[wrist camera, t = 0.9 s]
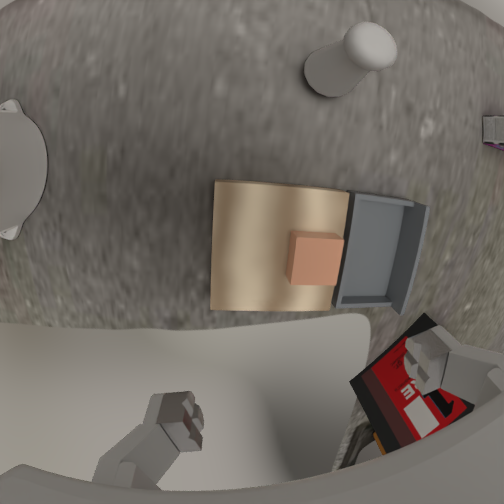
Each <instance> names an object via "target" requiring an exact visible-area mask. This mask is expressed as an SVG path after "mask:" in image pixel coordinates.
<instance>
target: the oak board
mask: <svg viewBox="0 0 504 504" xmlns="http://www.w3.org/2000/svg"><path fill="white" fill-rule="evenodd" d="M349 194H350V193H348V192H345V191H342V190H339V189H331V188H323V187H313V186H303V185H293V184H282V183H269V182H256V181H240V180H221V179H216V180H215V191H214V210H213V232H212V260H211V301H210V310H234V311H329V310H330V305H331V300H332V295H333V291H334V286H335V285H290V283H289V281H288V279H287V277H286V268H287V260H288V252H289V243H290V235H291V231H308V232H324V233H336V234H337V235H338V236H340V237H341V238H342V239H343V235H344V229H345V222H346V216H347V209H348V201H349Z"/></svg>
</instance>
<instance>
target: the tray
mask: <svg viewBox="0 0 504 504" xmlns="http://www.w3.org/2000/svg"><path fill="white" fill-rule="evenodd" d="M347 192H348V193H350V194H349V201H348V209H347V216H346V222H345V229H344V235H343V239H344V245H343V251H342V257H341V262H340V268H339V273H338V278H337V283H336V285H335V286H334V291H333V295H332V300H331V303H332V304H333V306H334V307H335V308H363V307H385V306H391V307H392V308H393V309H394V310H395V311H396V312H397V313H398V314H399V315H404V312H405V309H406V306H407V303H408V300H409V296H410V293H411V289H412V286H413V282H414V279H415V275H416V271H417V267H418V263H419V259H420V255H421V250H422V246H423V241H424V237H425V232H426V227H427V222H428V216H429V210H430V207H429V206H426V205H423V204H420V203H417V202H414V201H411V200H408V199H403V198H397V197H391V196H384V195H377V194H370V193H363V192H356V191H348V190H347Z"/></svg>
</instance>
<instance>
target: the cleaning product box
mask: <svg viewBox="0 0 504 504" xmlns="http://www.w3.org/2000/svg"><path fill="white" fill-rule="evenodd" d="M435 326H438V325H437V324H436V323H435V322H434V321H433V320H432V319H431V318H429V317H428V316H427V315H426V314H425V313H423V314H422V315H421V316H420V317H419V318H418V319H417V320H416V321H415V322H414V323H413V325H412V326H411V327H410V328H409V329H408V330H407V331H405V332H404V333H403V334H402V335H401V336H400V337H399V338H398V339H397V340H396V341H395V342H394V343H393V344H392V345H391V346H390V347H389V348H388V349H387V350H385V351H384V352H383V353H382V354H381V355H380V356H379V357H378V358H377V359H375V360H374V361H373V362H372V363H371V364H370V365H369V366H367V367H366V368H365V369H364V370H363V371H361V372H360V373H359V374H358V375H357V376H355V377H354V378H353V379H352V380H351V381H349V382H350V384H351V386H352V388H353V390H354V392H355V394H356V395H357V397H358V399H359V401H360V403H361V405H362V407H363V409H364V411H365V413H366V415H367V417H368V419H369V421H370V423H371V425H372V427H373V429H374V430H375V432H376V434H377V436H378V438H379V440H380V442H381V444H382V446H383V448H384V450H385V452H386V454H388V453H390V452H393V451H395V450H398V449H400V448H403V447H405V446H407V445H410V444H412V443H414V442H416V441H418V440H421V439H423V438H425V437H427V436H429V435H431V434H433V433H435V432H437V431H439V430H441V429H443V428H445V427H447V426H448V425H450V424H452V423H454V422H456V421H457V420H459V419H461V418H463V417H464V416H466V415H468V414H469V413H471V412H473V409H474V407H475V404H472V403H470V402H468V401H466V400H464V399H462V398H460V397H458V396H455V395H453V394H451V393H449V392H447V391H445V390H443V389H441V387H440V388H438V389H436V390H434V391H432V392H429V393H427V394H425V395H422V394H421V392H420V391H419V390H418V388H417V387H416V385H415V382H416V379H413V378H410V377H409V375H408V374H407V372H406V369H405V365H404V356H405V354H406V353H407V351H408V350H407V348H406V347H405V344H406V340H407V338H409V337H412V336H414V335H417V334H419V333H422V332H424V331H427V330H429V329H431V328H433V327H435Z"/></svg>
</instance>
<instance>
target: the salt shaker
mask: <svg viewBox="0 0 504 504" xmlns="http://www.w3.org/2000/svg"><path fill="white" fill-rule="evenodd" d="M396 58H397V46H396V44H395V41H394V39H393V37H392V36H391V35H390V34H389V33H388V32H387V30H386V29H385V28H383V27H381V26H379V25H377V24H376V23H372V22H365V21H364V22H362V23H359V24H356V25H354V26H352V27H351V28H350V29H349V30H348V31H347V33H346V34H345V36H344V39H343V40H340V41H338V42H335V43H333V44H330V45H328V46H326V47H323V48H321V49H319V50H317V51H315V52H313V53H311V54H310V56H309V57H308V59H307V60H306V62H305V68H304V74H305V77H306V79H307V81H308V84H309V85H310V86H311V87H312V88H313V89H314V90H315V91H316V92H318V93H320V94H322V95H325V96H327V97H341V96H343V95H345V94H347V93H349V92H351V91H352V90H353V88H354V87H355V86H356V85H357V84H358V83H359V82H360V81H361V80H362V79H363V78H364V77H365V76H366V75H367V74H368V73H369V72H370V71H381V70H384V69H386V68H388V67H390V66H391V65H392V64H393V63H394V61H395V60H396Z"/></svg>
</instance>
